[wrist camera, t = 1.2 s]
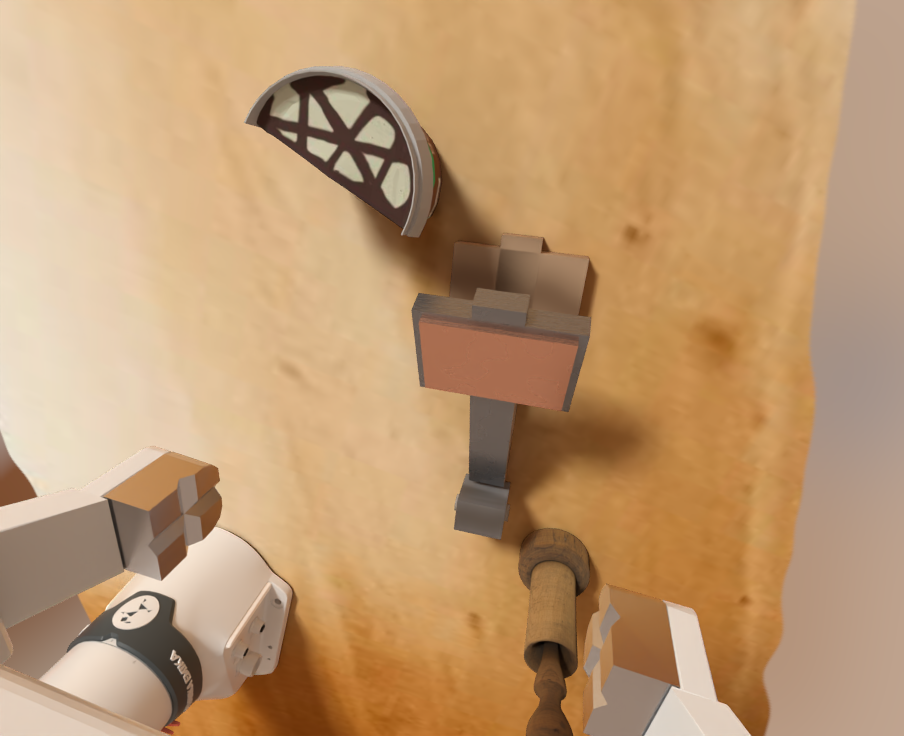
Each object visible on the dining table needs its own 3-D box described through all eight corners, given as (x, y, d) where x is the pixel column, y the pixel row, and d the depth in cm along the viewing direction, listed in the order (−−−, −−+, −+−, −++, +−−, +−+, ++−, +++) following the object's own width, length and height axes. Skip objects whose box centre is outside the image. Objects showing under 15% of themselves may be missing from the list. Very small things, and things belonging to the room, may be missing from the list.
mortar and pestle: (508, 538, 46) (478, 730, 30) (571, 519, 44) (576, 716, 28) (537, 589, 48) (524, 800, 31) (600, 574, 46) (621, 792, 29)
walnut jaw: (538, 515, 45) (535, 557, 40) (434, 493, 46) (419, 531, 41) (590, 243, 36) (595, 252, 31) (459, 227, 37) (443, 234, 32)
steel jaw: (546, 479, 41) (544, 499, 40) (434, 457, 43) (428, 476, 42) (594, 303, 26) (593, 327, 25) (417, 279, 28) (407, 301, 26)
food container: (491, 155, 35) (466, 143, 26) (446, 227, 37) (409, 240, 28) (353, 54, 35) (277, 6, 25) (316, 134, 37) (236, 117, 28)
